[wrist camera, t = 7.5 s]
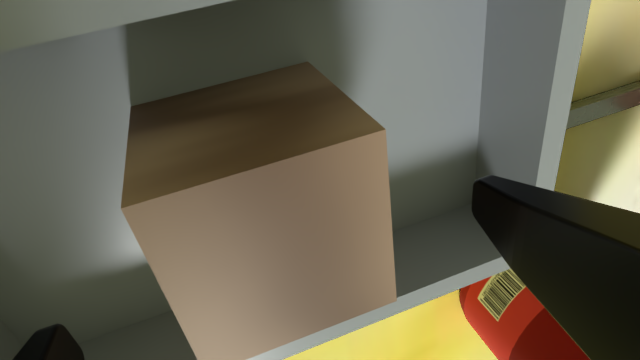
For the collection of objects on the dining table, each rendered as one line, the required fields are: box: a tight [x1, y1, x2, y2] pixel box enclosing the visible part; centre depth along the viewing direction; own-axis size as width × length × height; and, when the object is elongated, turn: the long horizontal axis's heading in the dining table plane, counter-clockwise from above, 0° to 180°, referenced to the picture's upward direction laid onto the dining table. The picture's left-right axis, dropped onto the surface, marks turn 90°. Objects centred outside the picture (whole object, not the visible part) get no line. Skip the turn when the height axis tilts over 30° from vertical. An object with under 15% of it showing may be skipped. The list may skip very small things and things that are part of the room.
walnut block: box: [121, 62, 397, 360], centre depth 11 cm, size 5×5×5 cm
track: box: [566, 81, 640, 129], centre depth 16 cm, size 35×13×4 cm, turn 98°
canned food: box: [460, 269, 590, 360], centre depth 22 cm, size 8×8×11 cm
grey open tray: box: [0, 0, 591, 360], centre depth 13 cm, size 19×12×6 cm, turn 98°
